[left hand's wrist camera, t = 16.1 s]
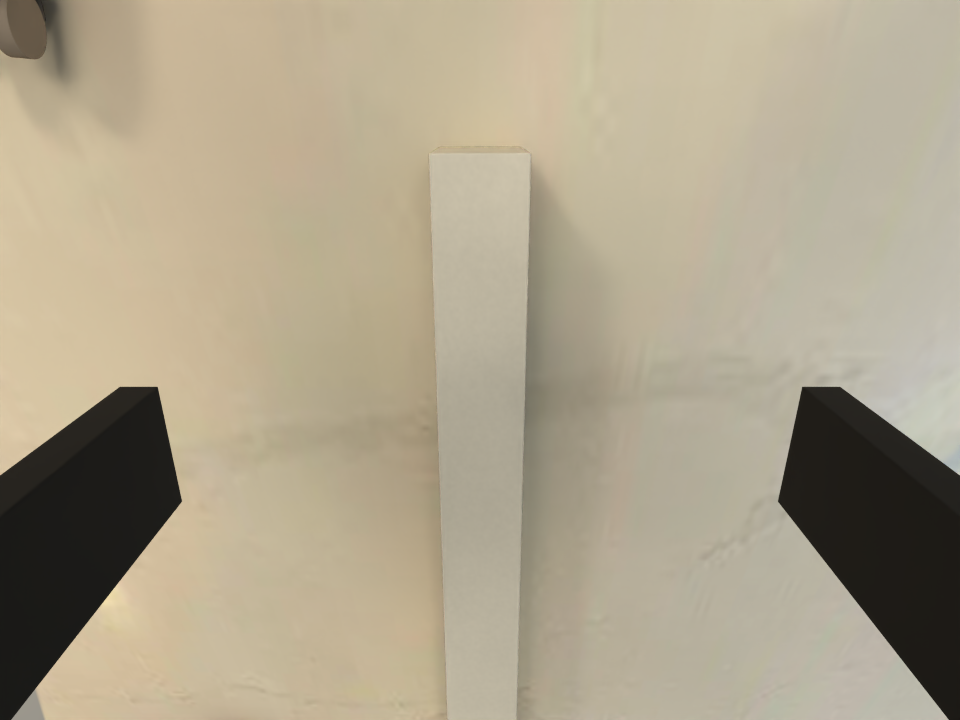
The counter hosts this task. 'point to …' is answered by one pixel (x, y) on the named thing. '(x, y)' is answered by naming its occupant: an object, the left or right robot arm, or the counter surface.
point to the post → (480, 415)
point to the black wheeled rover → (22, 28)
